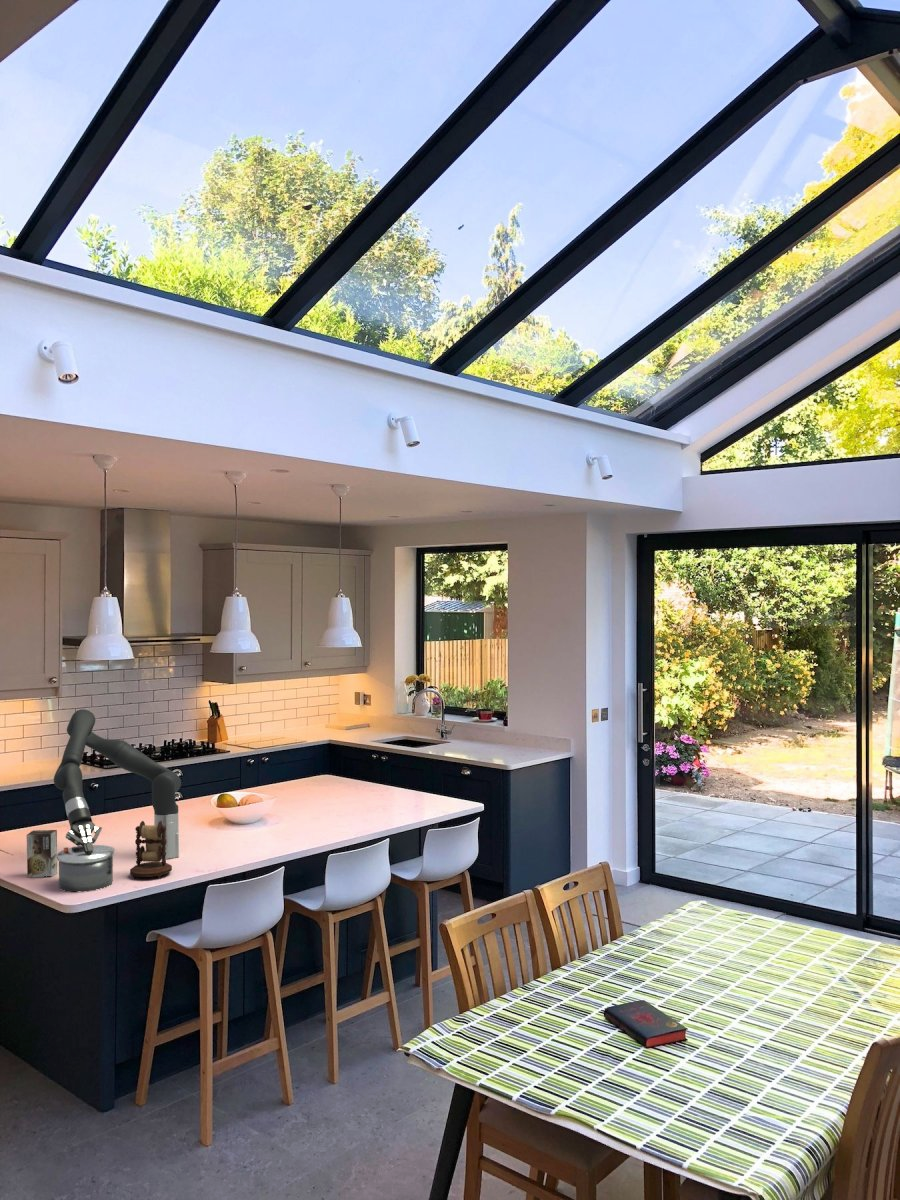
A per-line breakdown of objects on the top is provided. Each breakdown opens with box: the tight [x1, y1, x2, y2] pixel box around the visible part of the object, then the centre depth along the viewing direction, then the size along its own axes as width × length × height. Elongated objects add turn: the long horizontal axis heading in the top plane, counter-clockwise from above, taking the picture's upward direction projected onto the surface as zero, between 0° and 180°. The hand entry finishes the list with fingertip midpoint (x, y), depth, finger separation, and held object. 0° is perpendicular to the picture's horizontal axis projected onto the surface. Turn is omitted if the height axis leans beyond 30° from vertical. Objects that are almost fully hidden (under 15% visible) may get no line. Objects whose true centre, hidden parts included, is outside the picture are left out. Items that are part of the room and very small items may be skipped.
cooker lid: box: [57, 844, 115, 864], centre depth 342 cm, size 19×19×3 cm
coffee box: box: [26, 829, 58, 878], centre depth 355 cm, size 9×6×16 cm
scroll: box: [129, 820, 173, 880], centre depth 354 cm, size 15×15×20 cm
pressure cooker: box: [58, 855, 114, 892], centre depth 343 cm, size 19×18×10 cm
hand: (89, 853), depth 339 cm, fingers closed
